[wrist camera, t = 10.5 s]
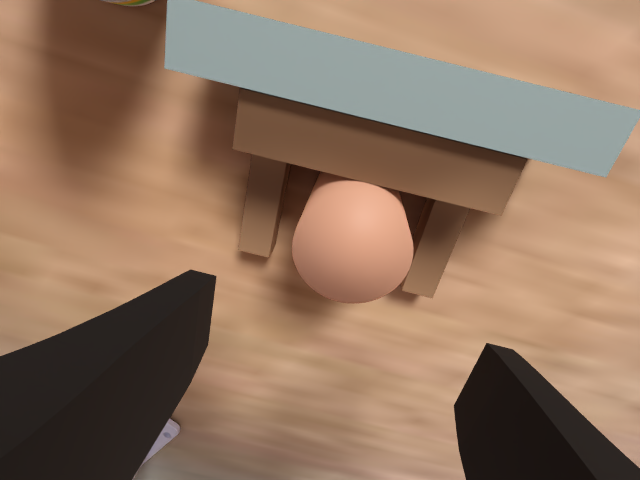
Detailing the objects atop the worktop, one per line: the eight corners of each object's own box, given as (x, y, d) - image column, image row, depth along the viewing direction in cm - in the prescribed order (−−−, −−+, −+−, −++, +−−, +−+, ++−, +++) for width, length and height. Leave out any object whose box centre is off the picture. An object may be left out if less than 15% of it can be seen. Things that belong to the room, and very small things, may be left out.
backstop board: (538, 146, 16) (606, 177, 12) (219, 67, 16) (164, 68, 12) (561, 97, 15) (643, 111, 11) (225, 14, 16) (167, -7, 11)
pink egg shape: (360, 249, 19) (359, 322, 14) (297, 201, 19) (269, 258, 13) (416, 190, 18) (439, 246, 12) (349, 135, 17) (342, 168, 12)
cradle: (427, 282, 20) (444, 339, 15) (246, 237, 20) (216, 282, 16) (486, 135, 16) (527, 159, 12) (270, 82, 16) (239, 88, 12)
